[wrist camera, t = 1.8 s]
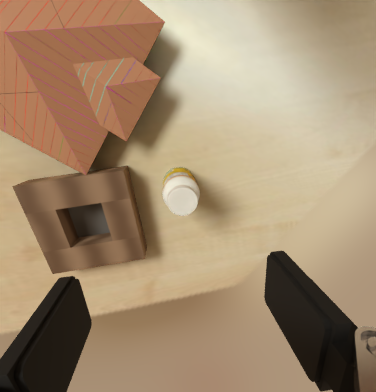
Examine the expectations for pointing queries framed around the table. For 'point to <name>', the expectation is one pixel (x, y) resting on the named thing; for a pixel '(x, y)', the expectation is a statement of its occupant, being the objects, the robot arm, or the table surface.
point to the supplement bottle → (180, 191)
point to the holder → (84, 218)
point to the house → (74, 73)
